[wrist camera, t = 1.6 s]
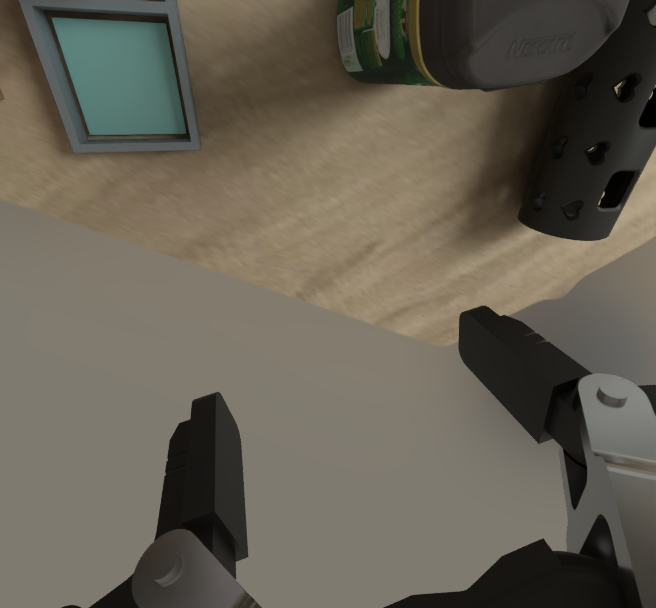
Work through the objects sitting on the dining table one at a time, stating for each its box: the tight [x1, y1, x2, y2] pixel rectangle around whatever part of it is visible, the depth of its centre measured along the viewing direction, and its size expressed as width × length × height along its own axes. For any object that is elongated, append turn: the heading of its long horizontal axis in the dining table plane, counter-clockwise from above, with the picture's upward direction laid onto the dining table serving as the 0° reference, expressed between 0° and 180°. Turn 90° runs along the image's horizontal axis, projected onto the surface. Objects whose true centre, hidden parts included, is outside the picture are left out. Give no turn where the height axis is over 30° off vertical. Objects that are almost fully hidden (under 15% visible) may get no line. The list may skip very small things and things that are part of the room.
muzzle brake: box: [518, 0, 656, 241], centre depth 31 cm, size 10×28×10 cm, turn 177°
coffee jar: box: [337, 0, 629, 92], centre depth 21 cm, size 10×8×19 cm
